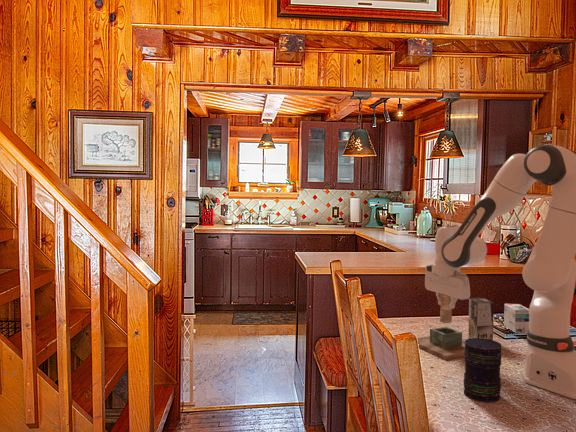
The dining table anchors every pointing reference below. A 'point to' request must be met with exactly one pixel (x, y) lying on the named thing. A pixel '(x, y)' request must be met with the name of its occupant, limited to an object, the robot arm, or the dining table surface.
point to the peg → (445, 309)
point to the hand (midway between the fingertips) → (446, 306)
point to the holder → (443, 343)
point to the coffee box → (481, 318)
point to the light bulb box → (516, 318)
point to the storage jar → (482, 369)
